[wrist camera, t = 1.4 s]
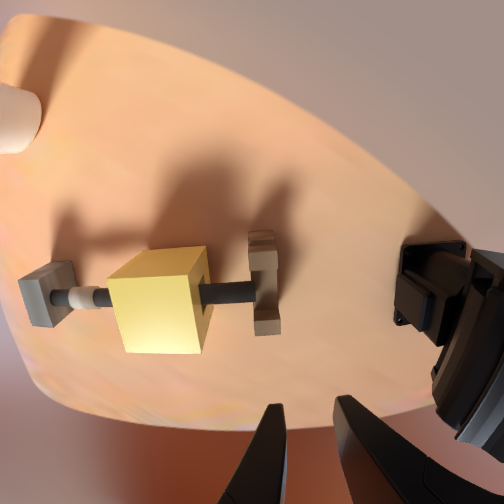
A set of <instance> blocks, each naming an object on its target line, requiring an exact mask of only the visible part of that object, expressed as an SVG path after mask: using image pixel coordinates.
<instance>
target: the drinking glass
mask: <svg viewBox="0 0 504 504" xmlns="http://www.w3.org/2000/svg"><path fill="white" fill-rule="evenodd" d="M41 116H42V108H41V103H40V100H39V98H38V97H37V95H36V94H34V93H33V92H30V91H27V90H23V89H19V88H17V87H14V86H11V85H9V84H6V83H3V82H1V81H0V154H8V153H18V152H21V151H23V150H24V149H26V148H27V147H28V146H29V145H30V144H31V142H32V141H33V139H34V138H35V136H36V134H37V132H38V129H39V126H40V122H41Z"/></svg>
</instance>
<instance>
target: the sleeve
mask: <svg viewBox="0 0 504 504" xmlns="http://www.w3.org/2000/svg"><path fill="white" fill-rule="evenodd" d="M106 280H107V284H108V289H109V293H110V297H111V301H112V305H113V308H114V312H115V316H116V319H117V323H118V326H119V330H120V333H121V336H122V340H123V343H124V346H125V349H126V352H136V353H170V354H200V353H202V349H203V345H204V341H205V338H206V334H207V330H208V327H209V323H210V319H211V316H212V312H213V309H214V305H213V304H209V305H201V301H200V295H199V288H198V284H211V282H210V275H209V267H208V259H207V250H206V246H193V247H180V248H168V249H155V250H143V251H142V252H141V253H139V254H138V255H137V256H135V257H134V258H133V259H131V260H130V261H129V262H127V263H126V264H125V265H124V266H122V267H121V268H120V269H118V270H117V271H116V272H115V273H113V274H112V275H111V276H110V277H108V278H107V279H106Z"/></svg>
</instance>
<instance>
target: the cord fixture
mask: <svg viewBox="0 0 504 504" xmlns="http://www.w3.org/2000/svg"><path fill="white" fill-rule="evenodd" d="M248 258H249V270H250V271H251V281H244V282H228V283H212V284H198V288H199V295H200V301H201V305H209V304H229V303H245V302H253V308H254V330H255V336H266V335H279V334H281V321H280V314H279V309H278V288H277V269H278V255H277V248H276V245H275V238H274V235H273V232H272V230H267V231H253V232H249V235H248ZM18 283H19V287H20V290H21V293H22V297H23V300H24V303H25V306H26V309H27V312H28V315H29V318H30V321H31V324H32V326H38V327H49V328H54V327H55V326H56V325H57V324H58V323H59V322H60V321H61V320H63V319H64V318H65V317H66V316H67V315H68V314H69V313H71V312H72V311H73V310H74V309H100V308H101V307H113V305H112V301H111V297H110V293H109V289H108V288H100V287H98V286H85V287H77V283H76V279H75V275H74V271H73V267H72V262H71V261H59V262H50V263H48V264H46V265H44V266H43V267H41V268H39V269H37V270H35V271H33V272H32V273H30V274H28V275H26V276H24V277H23V278H21V279H19V280H18Z"/></svg>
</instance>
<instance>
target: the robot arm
mask: <svg viewBox="0 0 504 504" xmlns="http://www.w3.org/2000/svg"><path fill="white" fill-rule="evenodd" d="M460 246H461V248H460ZM407 249H409V252H408V254H406V251H407ZM465 254H466V243H465V242H464V241H462V240H454V241H442V242H429V243H416V244H406V245H404V246H402V248H401V251H400V266H399V274H398V275H397V282H396V291H395V300H394V306H395V312H394V319H393V320H394V323H395V324H396V325H397V326H402V325H407V324H412V325H413V326H414V327H415V328H416V329H417V330H418V331H419V332H422V331H423V332H424V333H425V335H426V336H427V337H428V338H429V339H430V340H431V341H432V342H433V343H434V344H435V345H436V346H437V347H439V346H443V345H444V347H443V349H442V352H441V354H440V356H439V359H438V361H437V363H436V365H435V366H434V367H433V369H432V371H431V377H432V381H433V384H432V395H433V397H434V400H435V402H436V405H437V408H436V413H437V415H438V416H439V417H440V418H441V419H442V421H443V422H444V423H446V424H447V425H448V426H449V427H451V428H452V429H454V430H456V431H458V432H457V434H456V435H455V437H454V438H455V440H457V441H461V442H466V443H470V444H473V445H475V446H477V447H480V448H482V449H483V450H485V451H486V452H488V453H489V454H490V455H492V456H493V457H494V458H496V459H497V460H498V461H500V462H501V463H504V253H498V252H492V251H486V250H479V249H472V251H471V256H470V258H471V261H469V260H467V259H465ZM400 318H401V320H399V319H400ZM398 320H399V321H398ZM333 423H334V428H335V434H336V439H337V445H338V451H339V457H340V462H341V466H342V469H343V472H344V476H345V479H346V482H347V485H348V488H349V492H350V495H351V498H352V501H353V504H504V496H501V495H497V494H494V493H491V492H489V491H487V490H485V489H483V488H481V487H479V486H477V485H475V484H472V483H471V482H469V481H467V480H465V479H463V478H461V477H459V476H457V475H456V474H454V473H452V472H450V471H449V470H447V469H446V468H444V467H443V466H441V465H440V464H438V463H437V462H435V461H434V460H433V459H431V458H430V457H427V455H426V454H424V453H423V452H422V451H420V450H419V449H418V448H416V447H415V446H414V445H412V444H411V443H410V442H409V441H407V440H406V439H405V438H403V437H402V436H401V435H400V434H398V433H397V432H395V431H394V430H393V429H392V428H390V427H389V426H388V425H387V424H386V423H384V422H383V421H382V420H380V419H379V418H378V417H377V416H376V415H374V414H373V413H372V412H371V411H369V410H368V409H367V408H366V407H364V406H363V405H362V404H361V403H359V402H358V401H357V400H356V399H355V398H353V397H352V396H351V395H342V396H337V397H336V399H335V404H334V411H333ZM286 470H287V430H286V423H285V416H284V408H283V404H281V403H277V404H269V405H268V406H267V408H266V410H265V412H264V414H263V417H262V419H261V421H260V423H259V425H258V427H257V429H256V431H255V433H254V435H253V437H252V439H251V442H250V443H249V445H248V447H247V449H246V451H245V453H244V455H243V457H242V459H241V461H240V462H239V464H238V466H237V468H236V470H235V472H234V474H233V475H232V477H231V479H230V481H229V483H228V485H227V486H226V488H225V492H223V493H222V495H221V497H220V498H219V500H218V502H217V503H216V504H284V498H285V485H286Z"/></svg>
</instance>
